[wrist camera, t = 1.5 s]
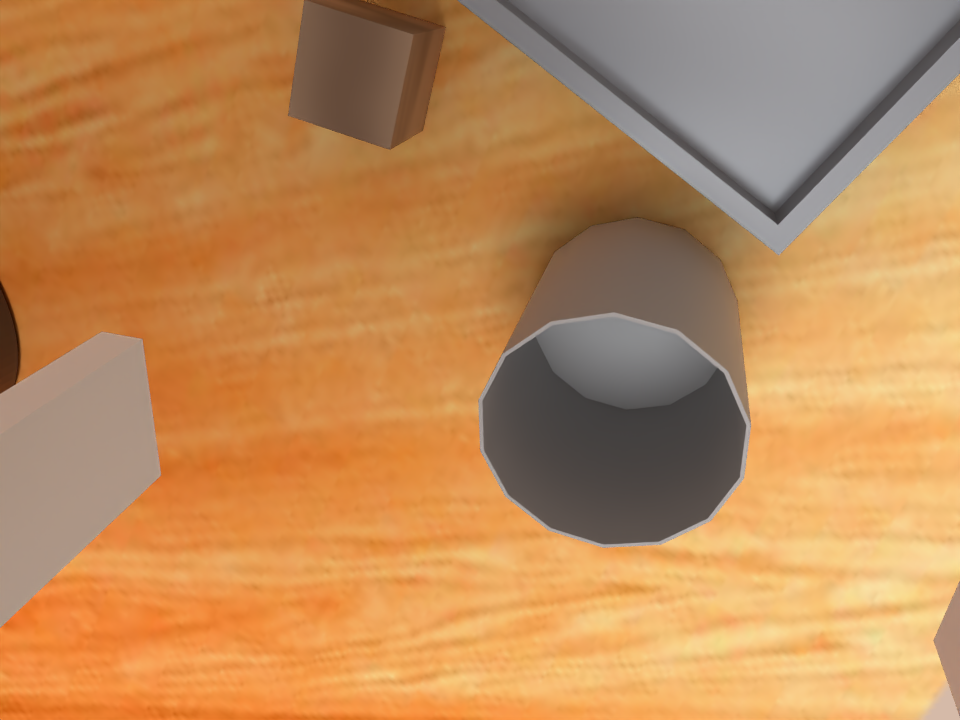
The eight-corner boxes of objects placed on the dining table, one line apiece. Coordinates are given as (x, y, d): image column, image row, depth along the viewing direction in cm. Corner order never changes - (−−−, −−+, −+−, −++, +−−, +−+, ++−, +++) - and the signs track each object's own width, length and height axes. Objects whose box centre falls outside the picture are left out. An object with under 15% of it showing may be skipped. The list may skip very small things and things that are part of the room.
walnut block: (331, 99, 33) (287, 115, 29) (349, -4, 31) (304, 0, 27) (423, 130, 33) (389, 149, 29) (446, 27, 31) (413, 34, 27)
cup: (659, 176, 31) (643, 259, 22) (778, 338, 33) (806, 475, 24) (495, 294, 35) (426, 405, 26) (608, 434, 36) (580, 582, 28)
